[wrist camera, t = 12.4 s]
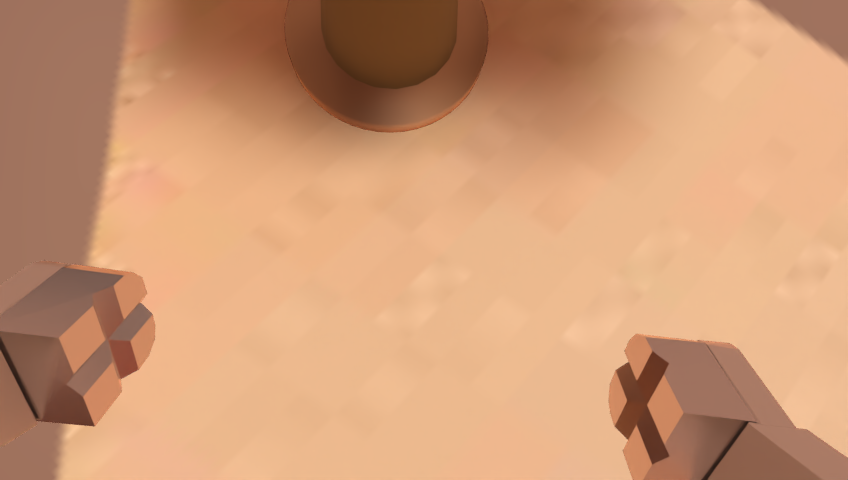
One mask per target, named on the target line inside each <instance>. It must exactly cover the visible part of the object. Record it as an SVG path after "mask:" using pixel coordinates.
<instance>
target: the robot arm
mask: <svg viewBox="0 0 848 480" xmlns="http://www.w3.org/2000/svg"><path fill="white" fill-rule="evenodd" d="M146 295H147V291H146V288H145V285H144V281H143V278H142V277H141V276H139V275H137V274H135V273H132V272H125V271H118V270H111V269H104V268H97V267H90V266H83V265H77V264H74V265H71V264H66V263H59V262H52V261H45V260H44V261H39V262H33V263H31V264H29V265H27V266H26V267H25V268H23V269H22V270H20V271H19V272H18V273H16V274H15V275H13V276H12V277H11V278H9V279H8V280H6V281H5V282H4V283H2V284H1V285H0V448H1V447H3V446H5V445H6V444H8V443H9V442H11V441H12V440H14V439H16V438H17V437H19V436H20V435H22V434H23V433H25V432H26V431H28V430H30V429H31V428H33V427H34V426H36V425H37V424H38V423H37V421H41V422H52V423H63V424H74V425H85V426H96V424H97V423H98V422H99V420H100V419H101V418H102V417H103V415H104V414H105V413H106V411H107V410H108V409H109V408H110V406H111V405H112V404H113V402H114V401H115V400H116V398H117V397H118V396H119V395H120V393H121V392H122V386H121V379H122V378H124V377H126V376H128V375H130V374H131V373H133V372H135V371H137V370H139V368H140V367H141V366H142V364H143V363H144V362H145V360H146V359H147V358H148V356H149V354H150V351H151V348H152V345H153V343H154V340H155V322H154V318H153V314H152V313H151V312H150V311H149V310H148V309H147V308H146V307H145V306H144V305H143V304H142V303H141V302H142V300H143V299H144V297H145V296H146ZM625 354H626V356H627V359H628V361H629V362H628V363H626V364H625V365H623V366H621V367H620V368H618V369H617V370H616V371H615V373H614V376H613V378H612V380H611V383H610V389H609V408H610V414H611V417H612V420H613V423H614V426H615V427H616V428H617V429H618V430H619V431H620V432H621V433H622V434H623V435H624V436H625V437H626V438H627V439H628V441H627V443H626V445H625V448H624V450H623V453H624V456H625V459H626V462H627V465H628V467H629V470H630V473H631V476H632V479H633V480H848V458H847V457H846V456H844V455H843V454H841V453H840V452H838V451H837V450H835V449H834V448H833V447H831V446H830V445H828V444H827V443H825V442H824V441H823V440H821V439H820V438H818V437H817V436H815V435H814V434H813V433H811V432H810V431H808V430H806V429H799V428H796V427H795V426H794V424H793V423H792V422H791V420H790V419H789V417H788V416H787V415H786V413H785V412H784V411H783V409H782V408H781V406H780V405H779V404H778V402H777V401H776V400H775V398H774V397H773V395H772V394H771V393H770V391H769V390H768V389H767V387H766V386H765V384H764V383H763V382H762V380H761V379H760V378H759V376H758V375H757V374H756V372H755V371H754V369H753V368H752V367H751V365H750V364H749V363H748V361H747V360H746V358H745V357H744V356H743V354H742V353H741V352H740V350H739V349H738V348H736V347H735V346H733V345H732V344H730V343H722V342H712V341H702V340H698V341H694V340H686V339H677V338H669V337H660V336H651V335H643V334H635V335H634V336H633V337H632V338H631V339H630V340H629V342H628V344H627V347H626V349H625Z"/></svg>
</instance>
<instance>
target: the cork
mask: <svg viewBox="0 0 848 480" xmlns="http://www.w3.org/2000/svg"><path fill="white" fill-rule="evenodd" d="M457 17H458V0H321V30H322V34H323V38H324V42H325V46H326V49H327V50H328V52H329V53H330V55H331V56H332V58H333V59H334V61H335V63H336V64H337V66H339V67H340V68H341V69H342V70H344V71H345V72H346V73H347V74H349V75H350V76H351V77H352V78H354V79H355V80H358V81H360V82H363V83H365V84H368V85H370V86H373V87H378V88H389V89H400V88H404V87H409V86H414V85H418V84H420V83H421V82H423V81H425V80H427V79H429V78H430V77H432V76H434V75H436V73H437V72H438V71H439V70H440V69H441V68H442V67H443V66H444V65H445V63H446V62H447V61H448V60H449V58H450V56H451V53H452V51H453V49H454V46H455V44H456V39H457Z"/></svg>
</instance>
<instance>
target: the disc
mask: <svg viewBox="0 0 848 480" xmlns="http://www.w3.org/2000/svg"><path fill="white" fill-rule="evenodd" d="M285 40H286V45H287V50H288V53H289V56H290V59H291V61H292V64H293V67H294V69H295V72H296V75H297V76H298V78H299V80H300V82H301V84H302V86H303V87H304V88H305V90H306V91H307V92H308V94H309V95H310V96H311V97H312V98H313V100H314V101H315V102H316V103H317V104H318V105H319V106H321V107H322V108H323V109H324V110H326V111H327V112H328V113H329V114H331V115H333V116H334V117H336V118H338V119H339V120H341V121H343V122H345V123H348V124H350V125H352V126H355V127H359V128H362V129H365V130H371V131H376V132H404V131H409V130H414V129H418V128H421V127H424V126H427V125H430V124H432V123H434V122H436V121H438V120H440V119H442V118H443V117H445V116H446V115H448V114H449V113H451V112H452V111H453V110H454V109H455V108H456V107H457V106H459V105H460V104H461V102H462V101H463V100H464V99H465V98H466V97H467V95H468V94H469V92H470V91H471V89H472V88H473V86H474V85H475V82H476V80H477V78H478V76H479V73H480V71H481V68H482V66H483V63H484V59H485V56H486V52H487V45H488V23H487V16H486V13H485V9H484V6H483V3H482V1H481V0H458V17H457V39H456V44H455V46H454V49H453V51H452V53H451V56H450V58H449V60H448V61H447V62H446V63H445V65H444V66H443V67H442V68H441V69H440V70H439V71H438V72H437V73H436V75H434V76H432V77H430V78H429V79H427V80H425V81H423V82H421V83H420V84H418V85H414V86H409V87H404V88H400V89H389V88H378V87H373V86H370V85H368V84H365V83H363V82H360V81H358V80H355V79H354V78H352V77H351V76H350V75H349V74H347V73H346V72H345V71H344V70H342V69H341V68H340V67H339V66H337V64H336V63H335V61H334V59H333V58H332V56H331V55H330V53H329V52H328V50H327V49H326V46H325V42H324V38H323V34H322V30H321V0H289V2H288V6H287V10H286V14H285Z"/></svg>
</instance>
